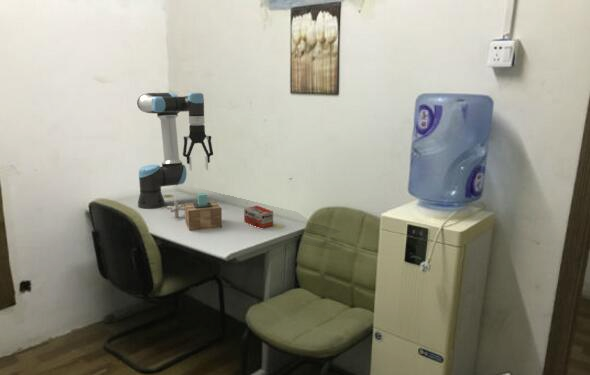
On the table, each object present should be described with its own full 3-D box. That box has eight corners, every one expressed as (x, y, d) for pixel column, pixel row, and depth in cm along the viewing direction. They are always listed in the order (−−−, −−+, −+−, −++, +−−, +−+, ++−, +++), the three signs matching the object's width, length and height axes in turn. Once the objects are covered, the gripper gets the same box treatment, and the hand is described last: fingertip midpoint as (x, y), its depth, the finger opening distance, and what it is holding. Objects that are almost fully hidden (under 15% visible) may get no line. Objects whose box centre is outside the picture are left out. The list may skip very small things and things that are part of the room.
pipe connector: (181, 220, 237) (180, 202, 235) (163, 219, 239) (162, 201, 236) (189, 215, 246) (188, 197, 244) (172, 214, 248) (171, 196, 246)
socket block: (185, 222, 234) (184, 203, 231) (216, 219, 239) (215, 201, 237) (189, 230, 221) (188, 210, 219) (221, 227, 226) (221, 208, 224)
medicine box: (244, 222, 235) (243, 207, 233) (256, 219, 240) (256, 205, 239) (261, 229, 224) (261, 214, 222) (274, 226, 229) (274, 211, 227)
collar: (193, 204, 230) (193, 203, 230) (209, 203, 233) (209, 201, 233) (195, 208, 223) (195, 207, 222) (212, 207, 225) (212, 205, 225)
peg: (198, 209, 229) (197, 193, 227) (206, 208, 231) (205, 193, 229) (199, 211, 226) (198, 195, 224) (207, 210, 227) (206, 194, 225)
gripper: (176, 125, 219) (179, 172, 224) (218, 124, 226) (220, 169, 231) (175, 124, 226) (177, 169, 231) (215, 123, 233) (217, 167, 238)
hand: (198, 169), depth 231 cm, fingers open, 8 cm apart
